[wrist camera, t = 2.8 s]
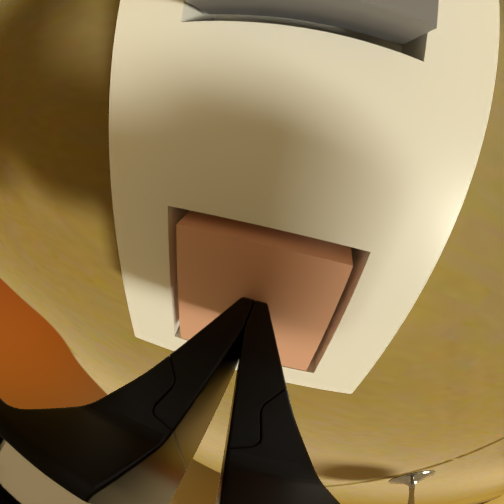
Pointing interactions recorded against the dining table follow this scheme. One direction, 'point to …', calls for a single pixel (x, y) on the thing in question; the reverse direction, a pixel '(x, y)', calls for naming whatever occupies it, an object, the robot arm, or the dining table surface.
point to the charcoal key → (342, 14)
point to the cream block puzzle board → (296, 153)
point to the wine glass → (411, 481)
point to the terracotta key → (260, 279)
